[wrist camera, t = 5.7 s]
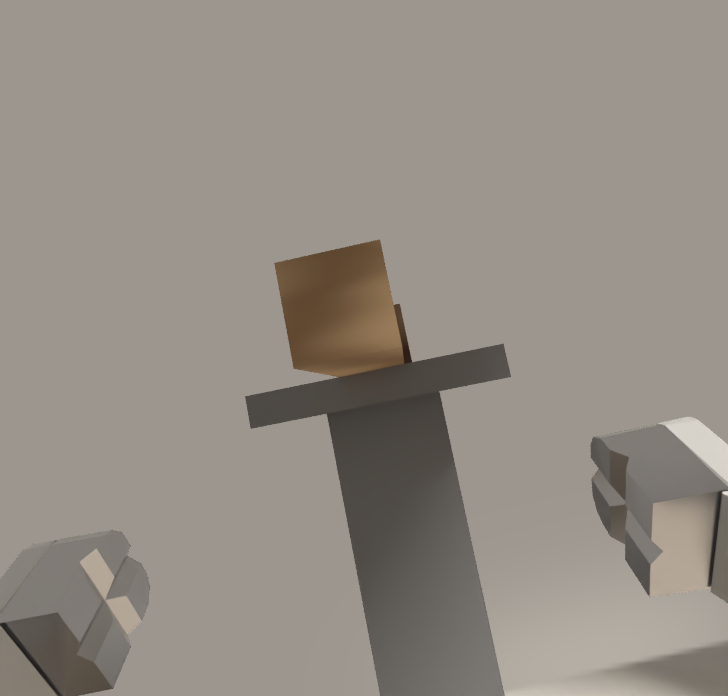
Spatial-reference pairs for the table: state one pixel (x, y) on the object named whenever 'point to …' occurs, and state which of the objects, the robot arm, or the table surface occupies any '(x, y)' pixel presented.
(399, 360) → the oak shaft
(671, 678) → the table surface
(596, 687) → the table surface
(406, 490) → the charcoal stand
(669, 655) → the table surface
